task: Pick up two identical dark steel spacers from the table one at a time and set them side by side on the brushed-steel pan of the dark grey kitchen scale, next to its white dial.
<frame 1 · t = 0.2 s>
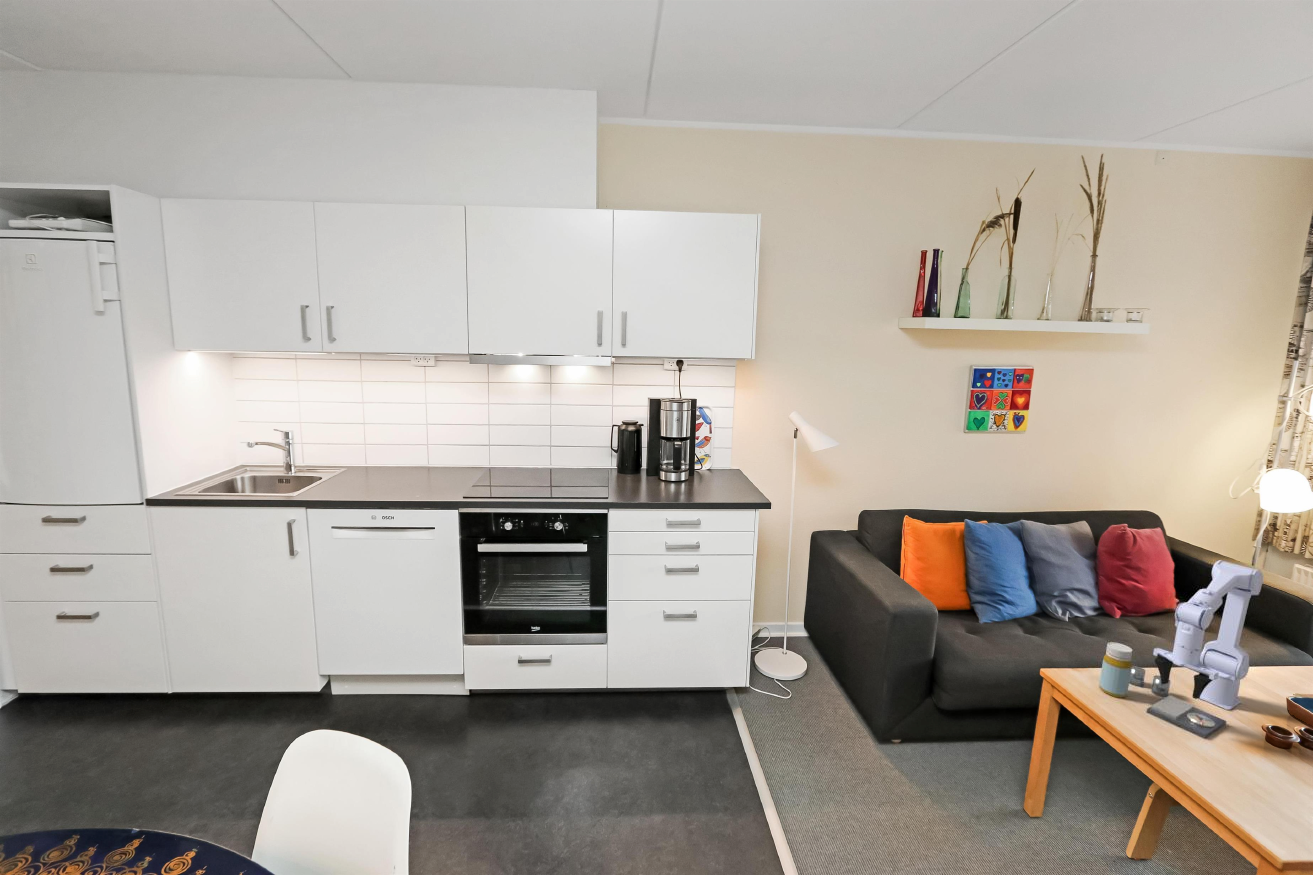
hand: (1179, 690, 171), 10 cm above the table, fingers open, 7 cm apart
spacer b: (1135, 683, 193), on the table
scale: (1178, 715, 176), on the table
spacer a: (1159, 693, 188), on the table
bottle: (1112, 692, 188), on the table
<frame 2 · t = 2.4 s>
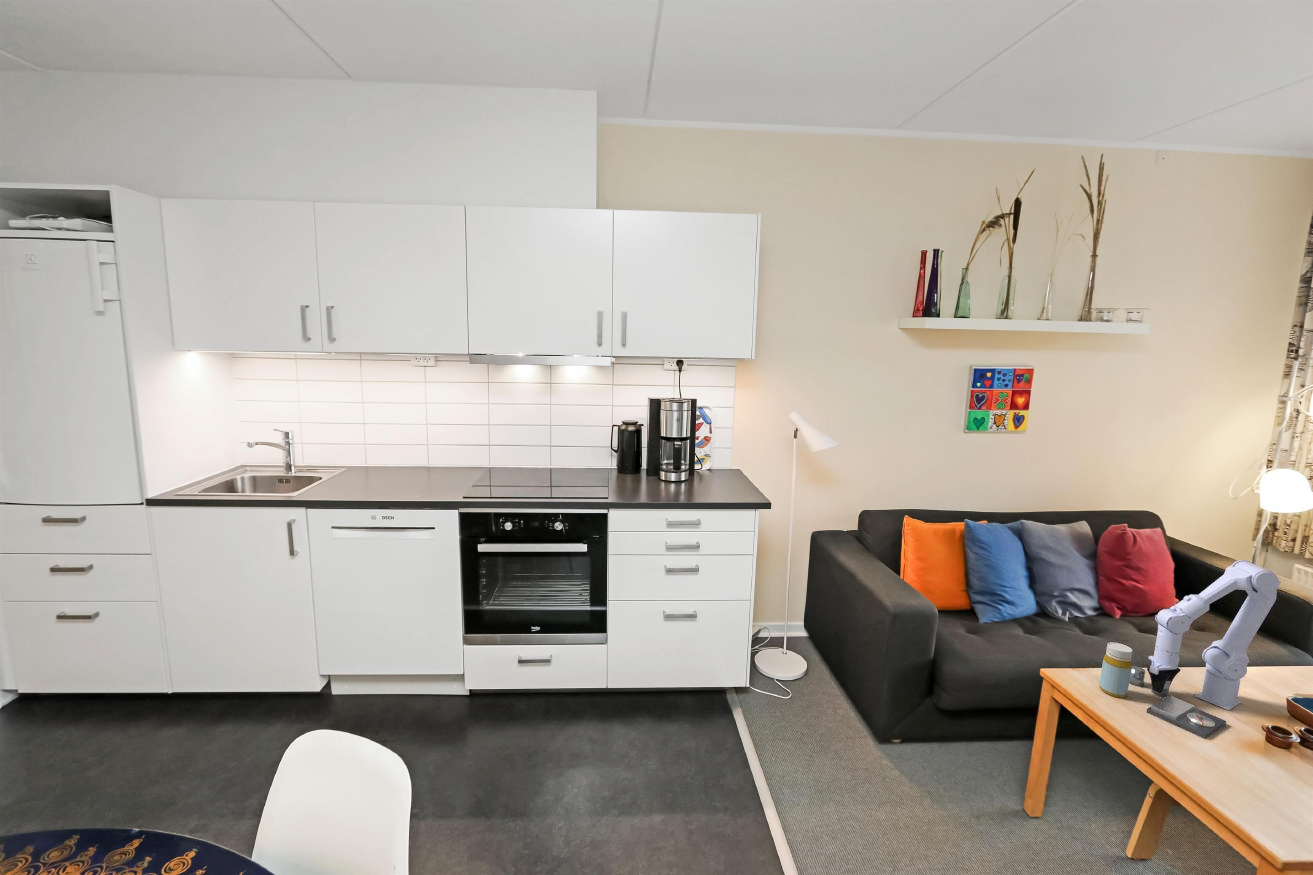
hand: (1160, 689, 187), 1 cm above the table, fingers closed on spacer a, 4 cm apart
spacer a: (1159, 693, 188), on the table, touching gripper
everything else where it was.
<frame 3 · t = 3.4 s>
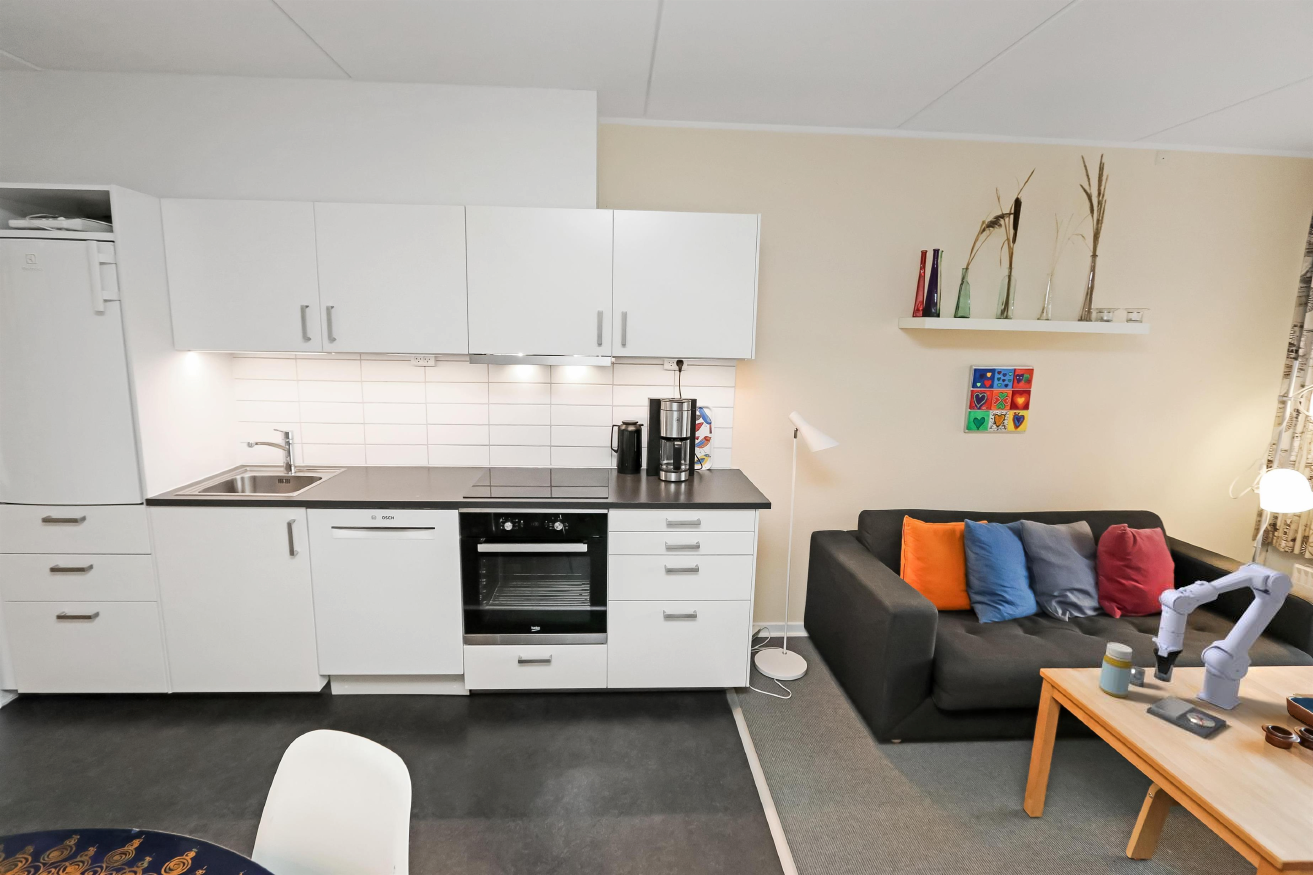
hand: (1164, 670, 185), 8 cm above the table, fingers closed on spacer a, 4 cm apart
spacer a: (1162, 678, 185), point 6 cm above the table, touching gripper
everything else where it was.
when the fingers open (5 cm above the table, at t = 5.0 s): spacer a stays where it is, resting on scale.
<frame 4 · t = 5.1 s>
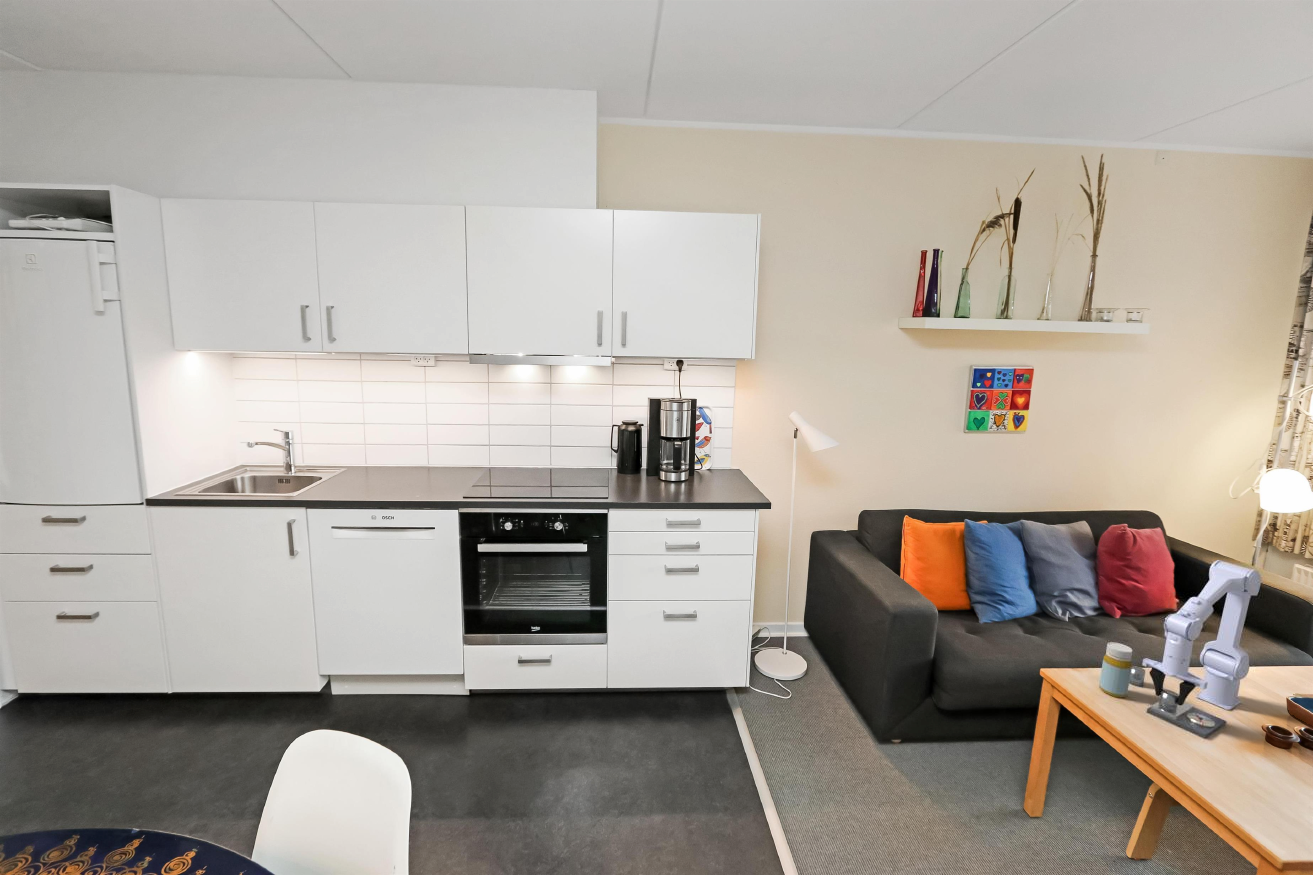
hand: (1169, 699, 175), 5 cm above the table, fingers open, 5 cm apart
spacer a: (1167, 708, 176), point 2 cm above the table, touching scale
everything else where it was.
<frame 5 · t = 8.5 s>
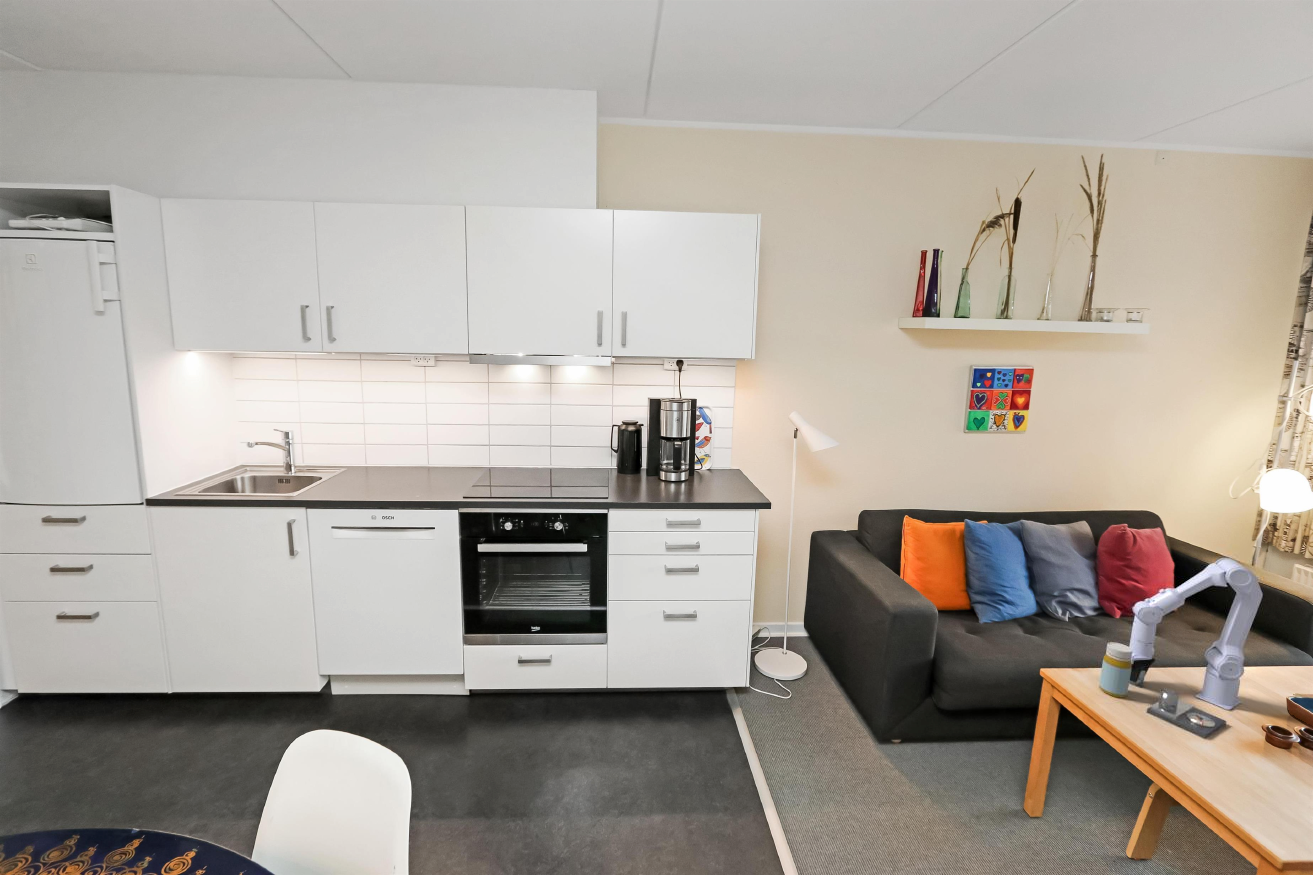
hand: (1135, 679, 193), 1 cm above the table, fingers closed on spacer b, 4 cm apart
spacer b: (1135, 683, 193), on the table, touching gripper
everything else where it was.
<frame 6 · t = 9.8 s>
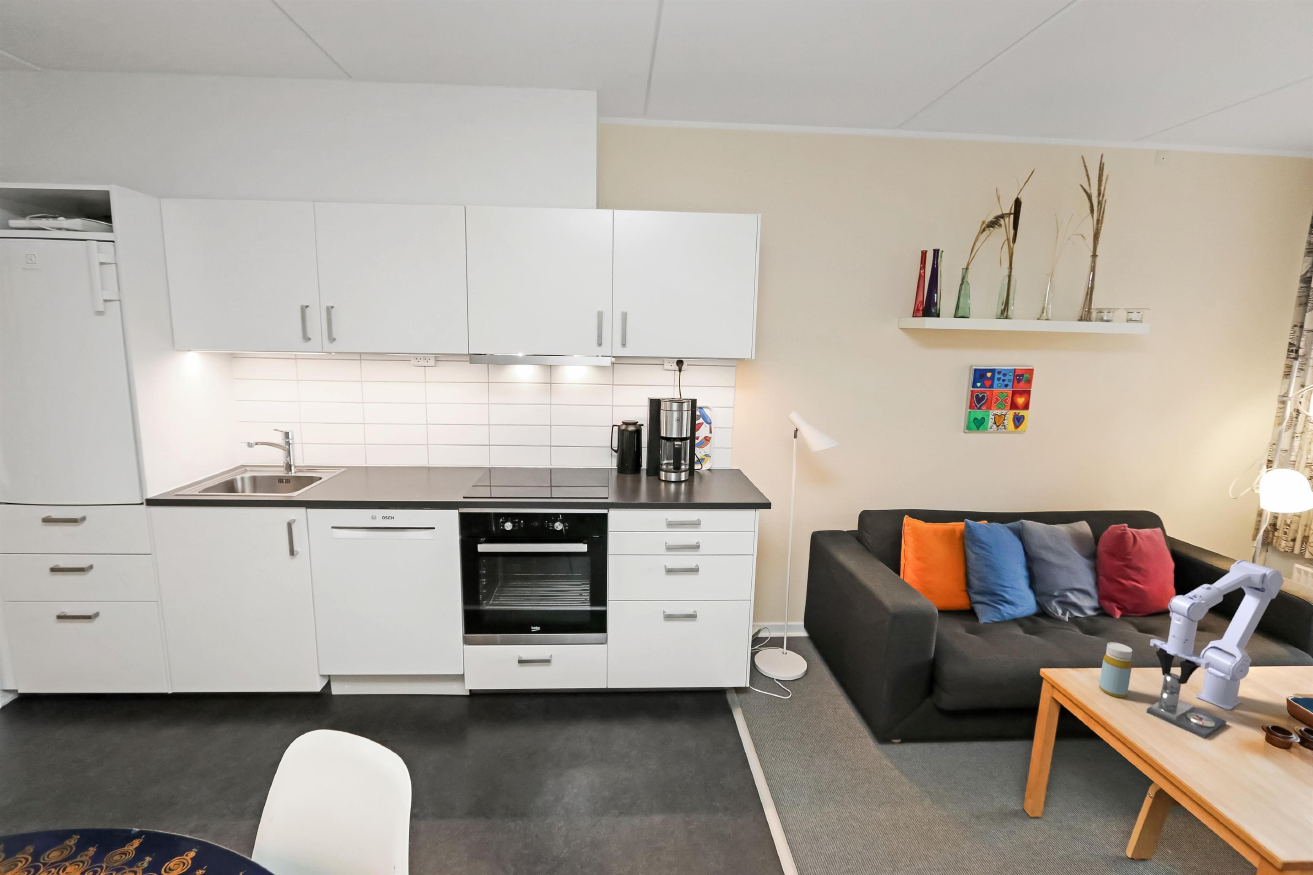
hand: (1174, 678, 180), 8 cm above the table, fingers closed on spacer b, 4 cm apart
spacer b: (1170, 691, 181), point 4 cm above the table, touching gripper
everything else where it was.
when the fingers open (5 cm above the table, at t = 11.0 s): spacer b stays where it is, resting on scale.
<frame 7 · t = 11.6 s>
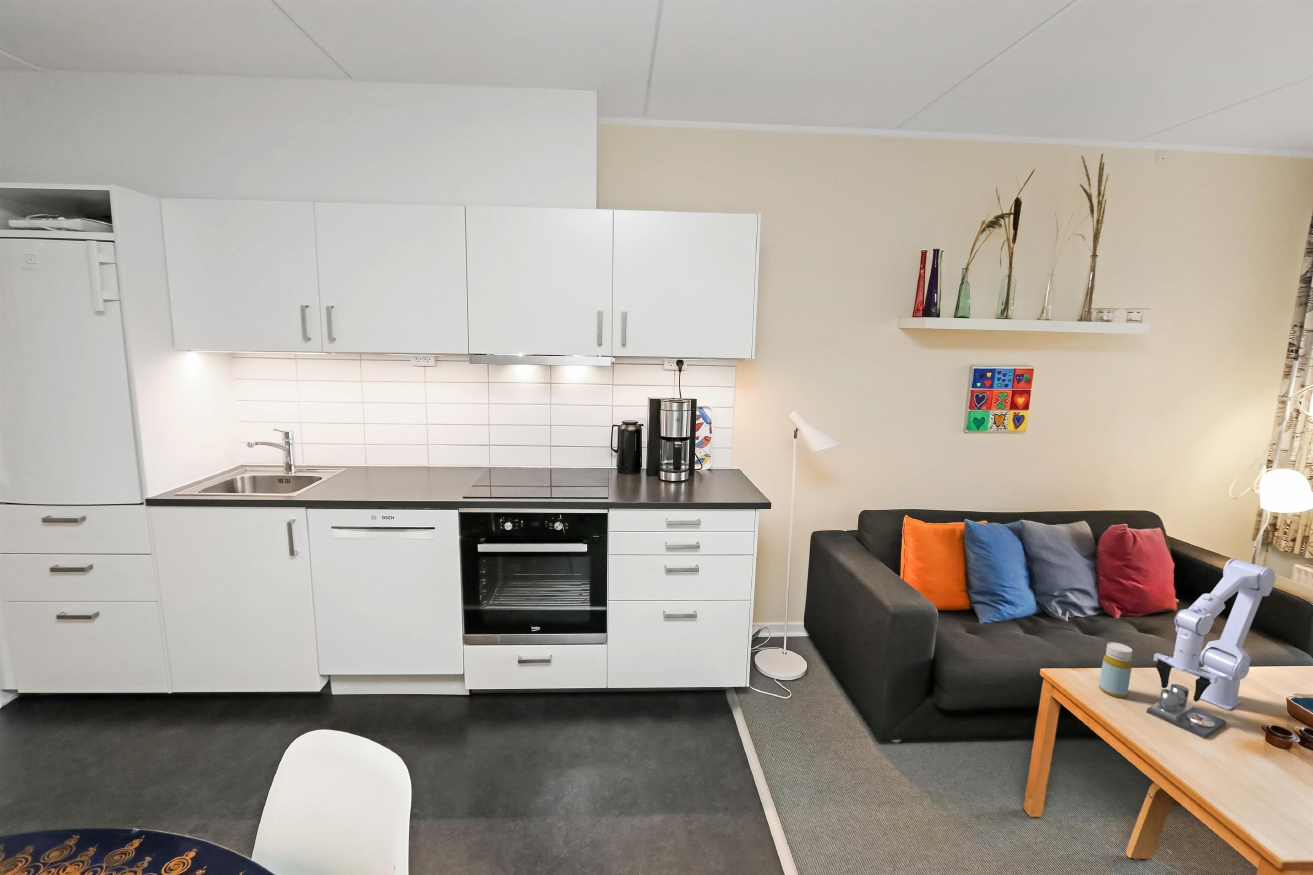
hand: (1180, 693, 179), 5 cm above the table, fingers open, 7 cm apart
spacer b: (1177, 703, 179), point 2 cm above the table, touching scale
everything else where it was.
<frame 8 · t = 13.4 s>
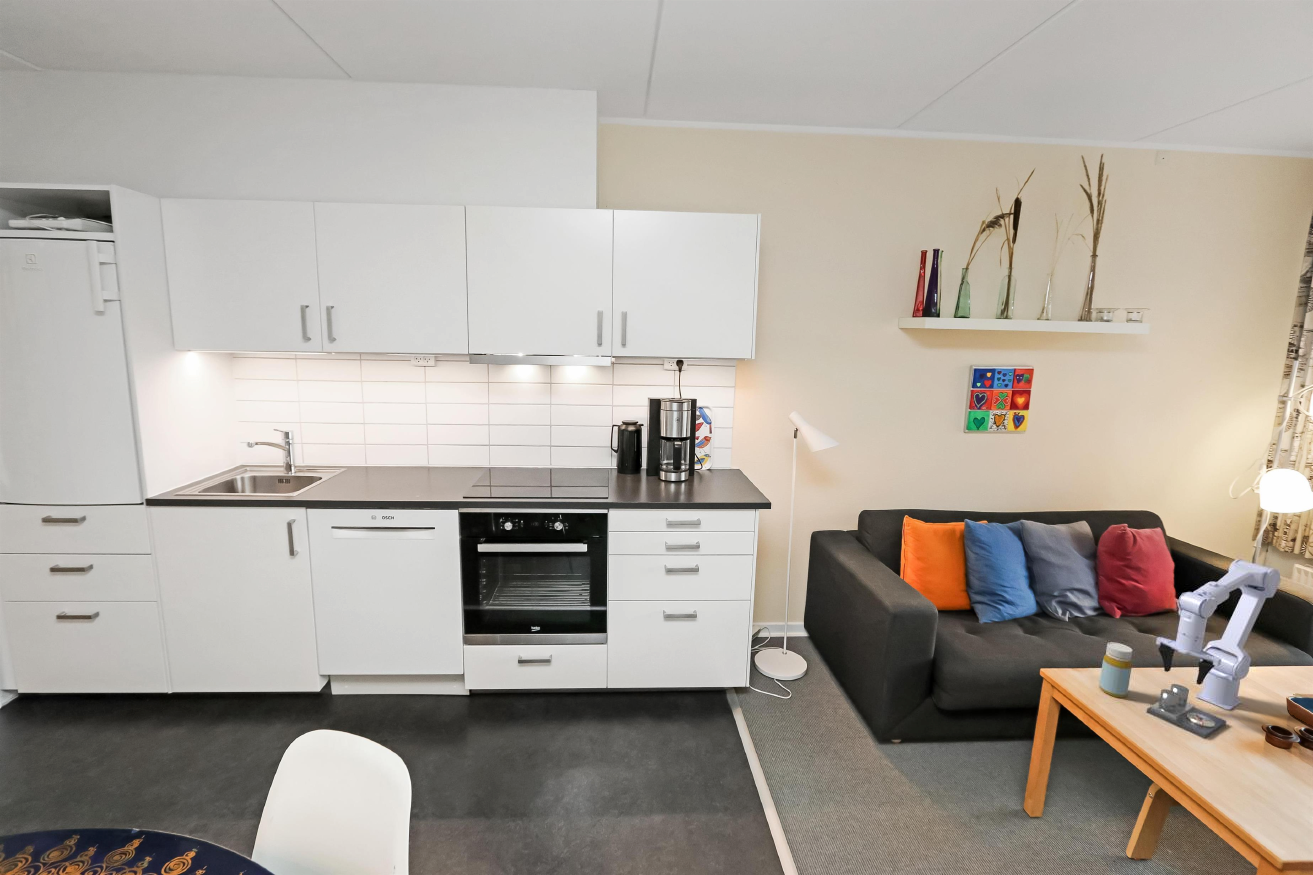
hand: (1183, 676, 178), 10 cm above the table, fingers open, 7 cm apart
nothing on the table moved.
at the end: spacer a 0.2 cm from the target spot, point 2.2 cm above the table; spacer b inside the target area (0.6 cm from its centre), point 2.2 cm above the table; spacer a tilted 0° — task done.
